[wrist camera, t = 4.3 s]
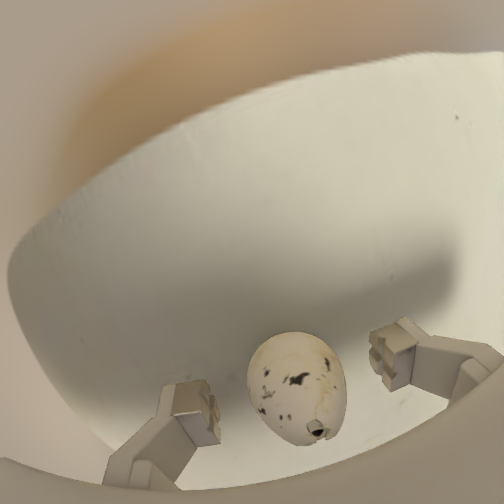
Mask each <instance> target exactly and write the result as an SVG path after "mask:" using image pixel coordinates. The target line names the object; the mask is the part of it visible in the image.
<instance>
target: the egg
mask: <svg viewBox="0 0 504 504" xmlns="http://www.w3.org/2000/svg"><path fill="white" fill-rule="evenodd" d="M247 388H248V393H249V396H250V399H251V402H252V404H253V406H254V408H255V410H256V411H257V413H258V414H259V416H260V417H261V418H262V420H263V421H264V422H265V423H266V424H267V425H268V426H269V427H270V428H271V429H272V430H273V431H274V432H275V433H276V434H277V435H279V436H280V437H281V438H283V439H284V440H286V441H287V442H289V443H291V444H293V445H296V446H310V445H312V444H314V443H317V442H316V440H320V439H322V438H324V437H325V438H326V440H329V439H331V438H332V437H334V436H336V434H337V433H338V431H339V430H340V428H341V425H342V423H343V420H344V416H345V411H346V403H347V391H346V381H345V376H344V372H343V369H342V366H341V364H340V361H339V359H338V358H337V356H336V354H335V353H334V352H333V350H332V349H331V348H330V347H329V346H328V345H327V344H326V343H325V342H323V341H322V340H321V339H319V338H317V337H315V336H313V335H311V334H308V333H303V332H286V333H281V334H278V335H276V336H274V337H272V338H270V339H268V340H267V341H265V342H264V343H263V344H262V345H261V346H260V347H259V348H258V349H257V350H256V352H255V353H254V355H253V357H252V359H251V361H250V363H249V367H248V371H247Z"/></svg>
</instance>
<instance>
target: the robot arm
mask: <svg viewBox="0 0 504 504" xmlns="http://www.w3.org/2000/svg"><path fill="white" fill-rule="evenodd" d="M369 342H370V344H371V345H372V347H371V349H370V351H369V359H370V363H371V366H372V368H373V370H374V371H375V373H376V374H378V375H381V376H382V382H383V383H384V385H385V386H386V387H387V389H388V390H389V391H390V393H391V392H393V391H395V390H397V389H399V388H402V387H404V386H406V385H408V384H410V383H411V385H413V386H416V387H418V388H421V389H423V390H426V391H428V392H431V393H433V394H436V395H438V396H441V397H444V398H446V399H449V403H448V406H447V408H446V409H445V410H443V411H441V412H440V413H438V414H437V415H435V416H434V417H432V418H430V419H429V420H427V421H425V422H424V423H422V424H420V425H418V426H417V427H415V428H413V429H411V430H409V431H408V432H406V433H404V434H402V435H400V436H398V437H396V438H394V439H392V440H390V441H388V442H386V443H384V444H382V445H379V446H377V447H375V448H373V449H370V450H368V451H366V452H363V453H361V454H358V455H356V456H353V457H351V458H348V459H346V460H343V461H340V462H337V463H334V464H331V465H328V466H325V467H322V468H319V469H316V470H312V471H309V472H305V473H302V474H298V475H294V476H290V477H286V478H282V479H277V480H272V481H267V482H262V483H256V484H250V485H244V486H237V487H229V488H219V489H206V490H184V491H182V490H181V489H180V488H178V487H177V486H176V485H175V484H174V482H175V481H176V479H177V478H178V476H179V475H180V473H181V472H182V470H183V469H184V468H185V466H186V465H187V463H188V462H189V460H190V459H191V457H192V456H193V454H194V453H195V451H196V449H197V448H196V447H203V446H210V445H216V444H221V443H220V428H219V427H218V425H217V423H218V422H219V421H220V414H219V408H218V405H217V402H216V399H215V397H214V396H213V395H211V394H210V387H209V385H208V383H207V381H206V380H198V381H192V382H185V383H178V384H171V385H164V386H163V388H162V391H161V395H160V400H159V404H158V408H157V413H156V417H155V418H151V419H150V420H149V421H148V422H147V423H146V424H145V425H144V426H143V427H142V428H141V429H140V430H139V431H137V432H136V433H135V434H134V435H133V436H132V437H131V438H130V439H129V440H128V441H127V442H126V443H125V444H124V445H122V446H121V447H120V448H119V449H118V450H117V451H116V452H115V453H114V454H113V455H111V456H110V458H109V461H108V464H107V468H106V471H105V475H104V478H103V482H102V485H100V484H94V483H88V482H84V481H79V480H74V479H70V478H66V477H62V476H58V475H55V474H51V473H48V472H45V471H41V470H38V469H35V468H32V467H29V466H27V465H24V464H21V463H19V462H16V461H14V460H12V459H9V458H0V504H504V356H502V355H501V354H500V353H499V352H497V351H496V350H495V349H493V348H492V347H491V346H489V345H488V344H484V343H477V342H471V341H464V340H458V339H452V338H446V337H440V336H435V335H434V336H432V337H430V336H429V335H428V334H427V333H426V332H424V331H423V330H422V329H421V328H420V327H418V326H417V325H416V324H415V323H413V322H412V321H411V320H410V319H408V318H406V317H404V318H402V319H400V320H397V321H395V322H394V323H392V324H389V325H387V326H385V327H382V328H380V329H377V330H375V331H372V332H370V335H369Z"/></svg>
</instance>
